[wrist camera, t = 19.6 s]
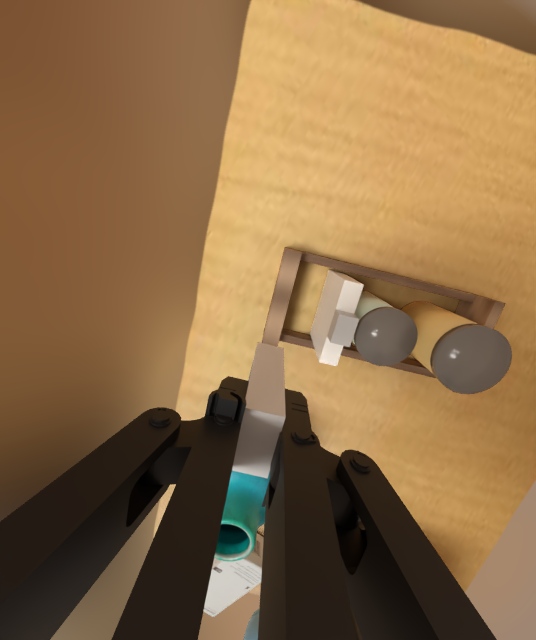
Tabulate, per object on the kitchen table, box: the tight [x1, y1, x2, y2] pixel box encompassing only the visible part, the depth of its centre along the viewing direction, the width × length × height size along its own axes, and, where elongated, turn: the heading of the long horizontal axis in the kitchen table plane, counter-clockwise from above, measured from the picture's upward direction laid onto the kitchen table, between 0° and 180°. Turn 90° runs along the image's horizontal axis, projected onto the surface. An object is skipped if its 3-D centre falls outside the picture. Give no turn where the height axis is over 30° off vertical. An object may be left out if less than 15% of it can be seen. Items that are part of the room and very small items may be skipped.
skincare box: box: [203, 533, 264, 617], centre depth 51 cm, size 8×6×15 cm
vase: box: [214, 471, 270, 561], centre depth 37 cm, size 11×11×19 cm
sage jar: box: [352, 291, 418, 366], centre depth 35 cm, size 6×6×11 cm
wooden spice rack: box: [262, 247, 506, 394], centre depth 37 cm, size 12×26×6 cm, turn 77°
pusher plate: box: [310, 270, 364, 366], centre depth 34 cm, size 9×2×12 cm, turn 167°
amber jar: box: [401, 301, 512, 394], centre depth 35 cm, size 7×7×12 cm
